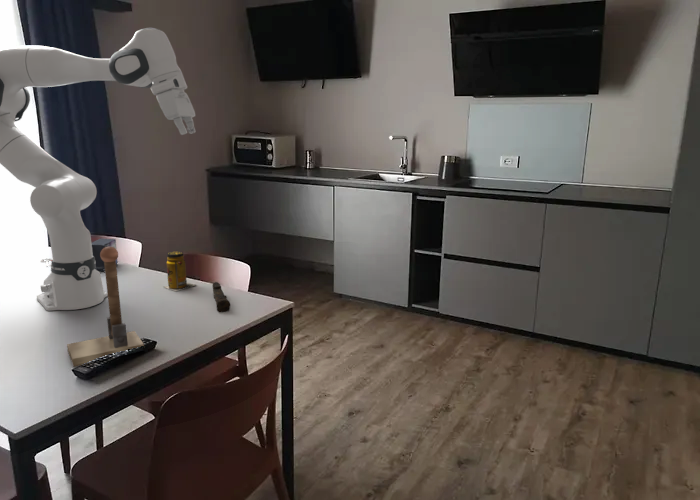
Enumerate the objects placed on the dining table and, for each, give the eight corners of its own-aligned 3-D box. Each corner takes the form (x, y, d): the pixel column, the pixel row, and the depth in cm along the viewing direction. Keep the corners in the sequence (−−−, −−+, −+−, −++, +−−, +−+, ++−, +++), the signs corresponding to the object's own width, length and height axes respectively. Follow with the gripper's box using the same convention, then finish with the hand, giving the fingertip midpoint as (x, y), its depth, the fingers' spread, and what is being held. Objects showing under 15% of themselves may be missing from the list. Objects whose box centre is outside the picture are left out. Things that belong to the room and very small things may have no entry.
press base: (135, 337, 146) (132, 311, 144) (144, 351, 138) (141, 323, 136) (67, 351, 138) (64, 323, 136) (73, 366, 130) (69, 337, 128)
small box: (107, 272, 206) (104, 244, 203) (89, 271, 206) (86, 244, 203) (119, 264, 216) (116, 238, 213) (102, 264, 216) (99, 238, 213)
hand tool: (230, 312, 166) (230, 297, 165) (217, 313, 165) (216, 298, 164) (224, 293, 183) (223, 279, 182) (211, 294, 182) (211, 280, 181)
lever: (124, 334, 141) (115, 244, 136) (128, 339, 138) (119, 247, 132) (107, 337, 139) (98, 246, 134) (110, 343, 136) (100, 249, 130)
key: (52, 259, 223) (40, 261, 221) (52, 257, 222) (40, 258, 220) (53, 267, 213) (41, 268, 211) (53, 265, 212) (41, 266, 210)
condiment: (163, 287, 188) (160, 253, 185) (184, 281, 195) (182, 248, 192) (175, 291, 184) (172, 256, 181) (197, 285, 190) (194, 252, 187)
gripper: (170, 91, 167) (187, 136, 171) (148, 88, 148) (168, 138, 151) (190, 84, 167) (206, 129, 170) (170, 80, 147) (190, 131, 150)
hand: (188, 133), depth 160 cm, fingers open, 8 cm apart
